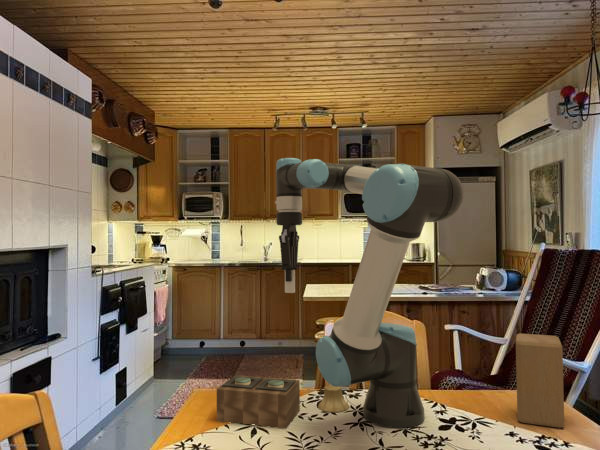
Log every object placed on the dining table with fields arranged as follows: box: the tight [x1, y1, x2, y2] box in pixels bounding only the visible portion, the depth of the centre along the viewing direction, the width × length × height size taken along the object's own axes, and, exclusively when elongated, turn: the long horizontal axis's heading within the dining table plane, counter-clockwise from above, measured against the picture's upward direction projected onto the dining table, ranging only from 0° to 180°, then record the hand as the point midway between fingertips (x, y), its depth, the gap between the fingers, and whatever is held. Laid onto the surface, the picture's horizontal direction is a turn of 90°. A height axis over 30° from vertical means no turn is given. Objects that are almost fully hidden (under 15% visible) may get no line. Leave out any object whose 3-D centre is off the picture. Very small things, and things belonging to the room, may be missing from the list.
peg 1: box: [235, 377, 251, 385], centre depth 121 cm, size 4×4×8 cm
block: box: [515, 333, 565, 429], centre depth 116 cm, size 10×10×20 cm
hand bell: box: [317, 383, 350, 413], centre depth 126 cm, size 8×8×16 cm
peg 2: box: [268, 380, 284, 388], centre depth 119 cm, size 4×4×8 cm
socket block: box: [216, 374, 301, 429], centre depth 120 cm, size 18×12×8 cm, turn 74°
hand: (290, 292), depth 137 cm, fingers closed
